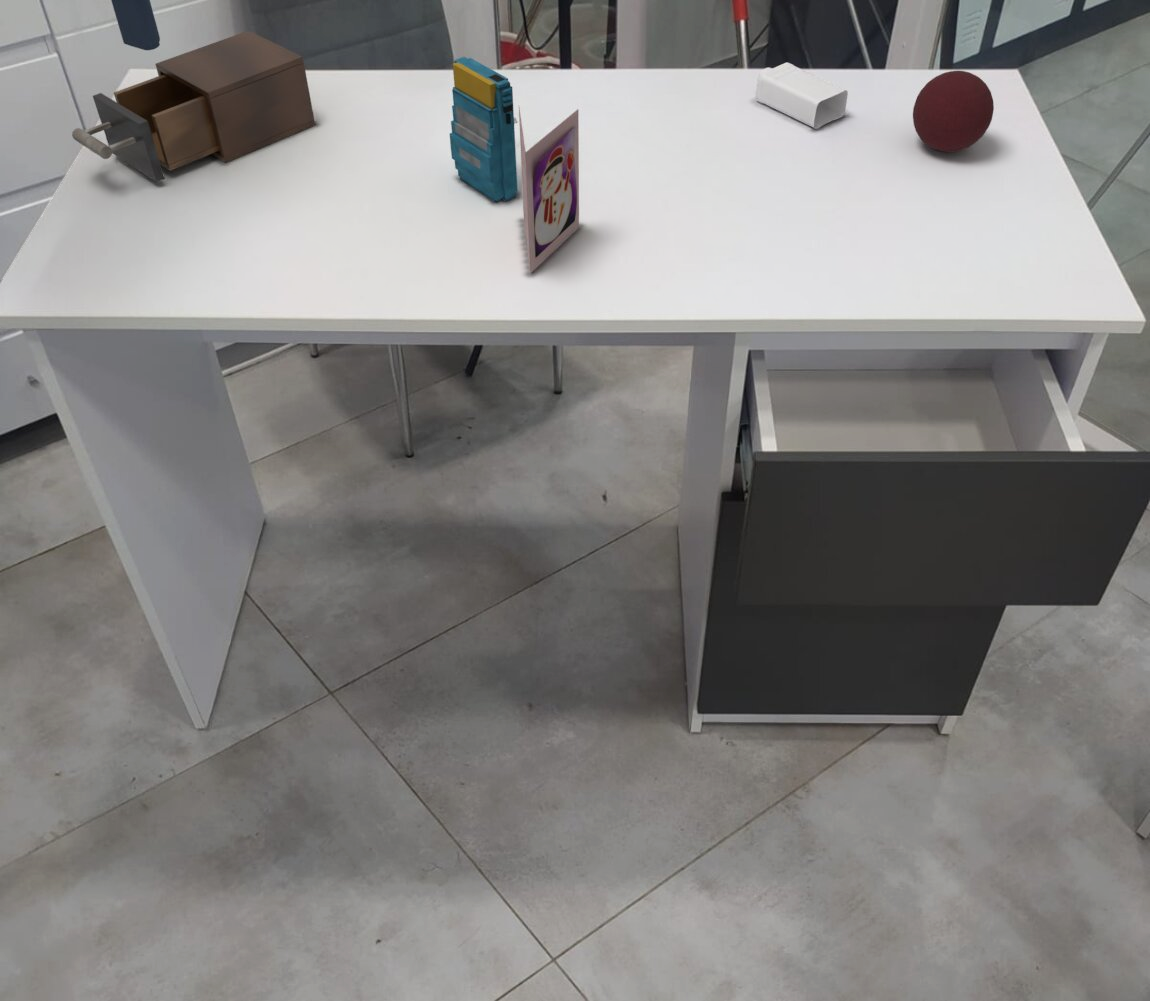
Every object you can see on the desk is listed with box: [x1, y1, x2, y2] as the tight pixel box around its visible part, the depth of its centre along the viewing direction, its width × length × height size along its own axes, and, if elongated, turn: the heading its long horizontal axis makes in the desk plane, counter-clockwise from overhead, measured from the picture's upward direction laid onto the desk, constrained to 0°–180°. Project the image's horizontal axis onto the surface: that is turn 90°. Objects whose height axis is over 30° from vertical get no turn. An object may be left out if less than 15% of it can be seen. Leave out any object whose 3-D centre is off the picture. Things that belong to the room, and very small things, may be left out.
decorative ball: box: [912, 70, 995, 153], centre depth 145 cm, size 10×10×10 cm
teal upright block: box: [449, 56, 518, 203], centre depth 137 cm, size 10×4×15 cm, turn 40°
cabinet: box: [155, 30, 316, 164], centre depth 150 cm, size 15×13×10 cm
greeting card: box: [518, 106, 580, 274], centre depth 127 cm, size 11×7×15 cm, turn 151°
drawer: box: [71, 74, 220, 183], centre depth 144 cm, size 18×11×8 cm, turn 136°
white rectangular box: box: [755, 62, 849, 130], centre depth 155 cm, size 6×13×4 cm, turn 39°
